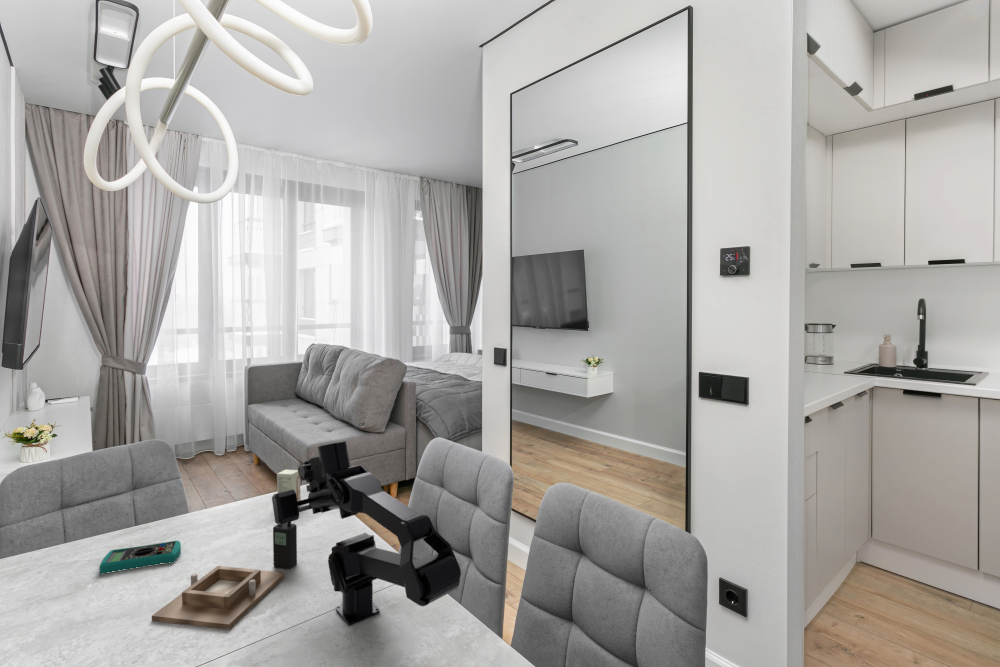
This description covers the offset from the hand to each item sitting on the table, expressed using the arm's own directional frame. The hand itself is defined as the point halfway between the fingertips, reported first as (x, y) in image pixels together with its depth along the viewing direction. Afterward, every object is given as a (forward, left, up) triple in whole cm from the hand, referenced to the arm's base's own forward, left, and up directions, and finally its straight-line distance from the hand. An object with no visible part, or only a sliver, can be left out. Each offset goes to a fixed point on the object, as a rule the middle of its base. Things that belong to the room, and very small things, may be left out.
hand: (303, 500), depth 113 cm
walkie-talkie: (+3, +3, -16) cm, 16 cm away
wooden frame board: (-2, +17, -15) cm, 23 cm away
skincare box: (+38, -9, -16) cm, 42 cm away
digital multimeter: (+26, +28, -16) cm, 42 cm away
